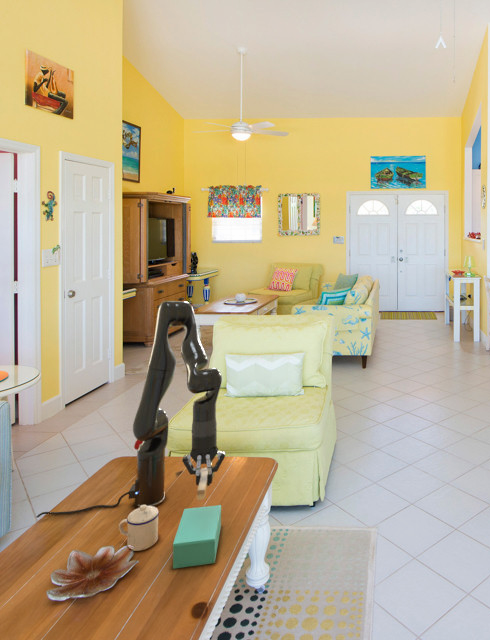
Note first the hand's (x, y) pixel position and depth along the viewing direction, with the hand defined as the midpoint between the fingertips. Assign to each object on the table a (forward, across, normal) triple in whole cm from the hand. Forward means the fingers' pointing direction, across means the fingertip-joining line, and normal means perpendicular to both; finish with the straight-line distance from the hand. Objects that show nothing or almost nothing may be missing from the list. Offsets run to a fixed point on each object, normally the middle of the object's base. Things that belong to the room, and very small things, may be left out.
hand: (204, 485), depth 150 cm
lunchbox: (+17, +1, +4) cm, 18 cm away
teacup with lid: (+17, +20, -3) cm, 27 cm away
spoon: (0, 0, 0) cm, 0 cm away
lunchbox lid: (+11, +1, +4) cm, 11 cm away
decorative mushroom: (+17, +29, -55) cm, 64 cm away
